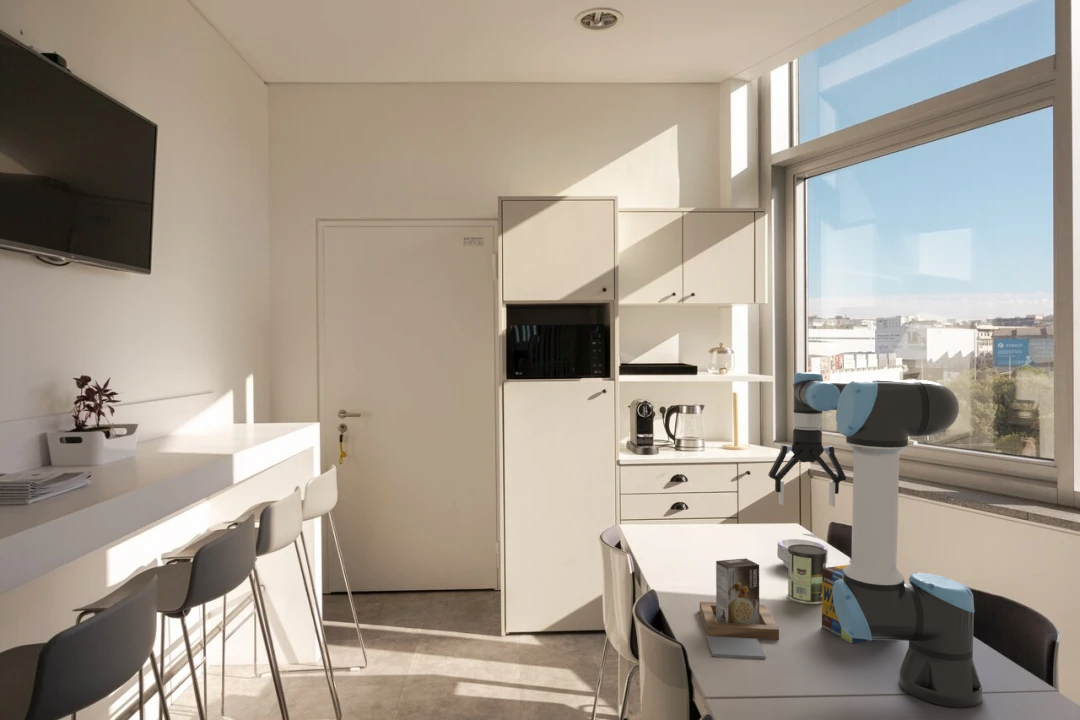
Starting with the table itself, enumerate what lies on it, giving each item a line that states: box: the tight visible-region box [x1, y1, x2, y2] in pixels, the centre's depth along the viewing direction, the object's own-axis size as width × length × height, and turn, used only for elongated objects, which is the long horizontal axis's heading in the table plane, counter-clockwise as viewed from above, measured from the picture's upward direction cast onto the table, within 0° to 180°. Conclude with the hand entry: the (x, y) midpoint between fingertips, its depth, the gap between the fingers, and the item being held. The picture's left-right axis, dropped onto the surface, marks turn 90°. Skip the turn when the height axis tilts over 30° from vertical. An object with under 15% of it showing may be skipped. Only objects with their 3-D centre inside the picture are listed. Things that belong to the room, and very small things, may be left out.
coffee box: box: [715, 557, 760, 625], centre depth 183 cm, size 9×6×16 cm
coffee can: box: [787, 544, 827, 605], centre depth 203 cm, size 10×10×14 cm
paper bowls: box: [777, 537, 829, 569], centre depth 230 cm, size 15×15×8 cm
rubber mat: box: [706, 635, 767, 660], centre depth 169 cm, size 10×12×1 cm
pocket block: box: [699, 601, 780, 640], centre depth 183 cm, size 17×17×2 cm
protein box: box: [821, 564, 869, 644], centre depth 179 cm, size 10×15×16 cm
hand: (806, 504), depth 198 cm, fingers open, 13 cm apart
